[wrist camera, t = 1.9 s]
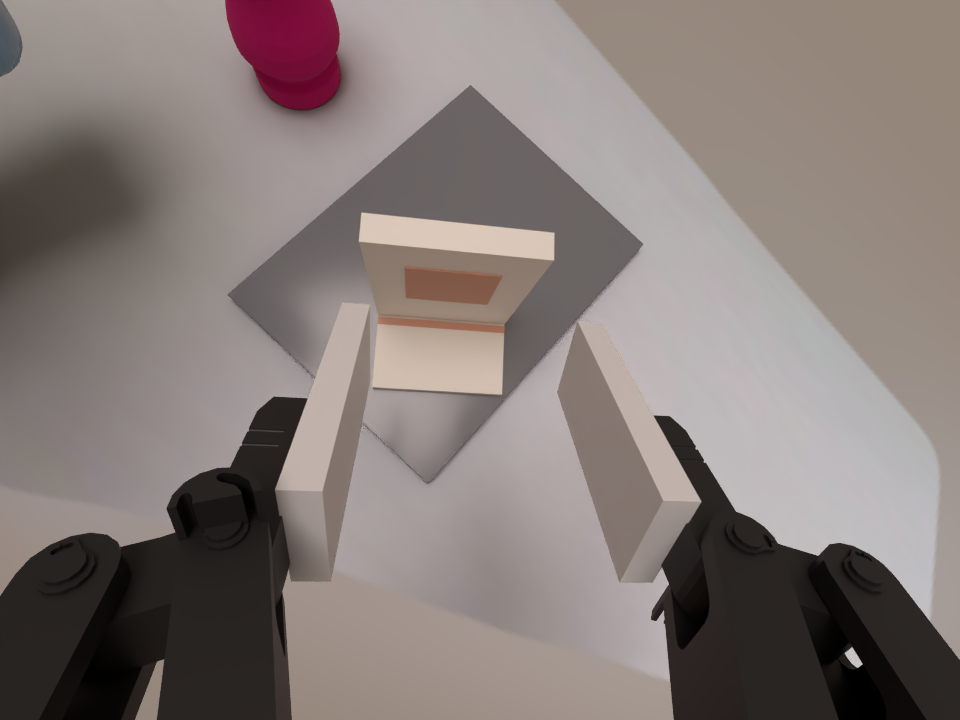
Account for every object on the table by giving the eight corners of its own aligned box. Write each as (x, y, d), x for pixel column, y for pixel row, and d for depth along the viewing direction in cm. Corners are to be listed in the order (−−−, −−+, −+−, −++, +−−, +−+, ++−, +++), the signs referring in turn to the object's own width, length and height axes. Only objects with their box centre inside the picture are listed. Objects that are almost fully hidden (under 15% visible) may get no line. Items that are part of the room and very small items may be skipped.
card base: (500, 395, 34) (502, 394, 33) (372, 388, 33) (371, 386, 32) (503, 302, 35) (505, 299, 34) (380, 292, 34) (380, 288, 33)
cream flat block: (504, 325, 34) (554, 262, 22) (377, 315, 33) (358, 243, 21) (505, 305, 34) (554, 232, 22) (379, 294, 33) (361, 212, 21)
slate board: (232, 299, 33) (227, 294, 32) (469, 93, 39) (470, 85, 38) (427, 482, 33) (428, 483, 32) (637, 249, 39) (643, 244, 38)
